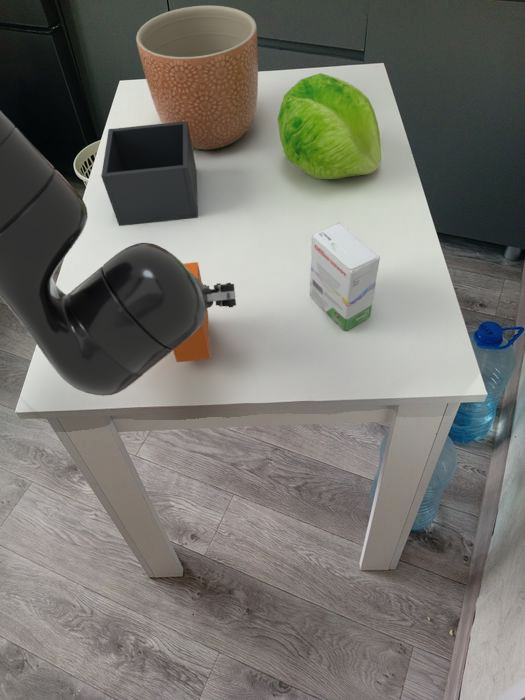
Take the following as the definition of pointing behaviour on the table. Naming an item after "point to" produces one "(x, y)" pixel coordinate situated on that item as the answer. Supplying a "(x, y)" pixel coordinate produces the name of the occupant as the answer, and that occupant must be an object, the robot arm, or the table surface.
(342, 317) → the ink box
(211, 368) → the table surface
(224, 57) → the planter
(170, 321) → the robot arm
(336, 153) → the lettuce
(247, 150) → the table surface
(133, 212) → the dark grey open box
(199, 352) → the block
